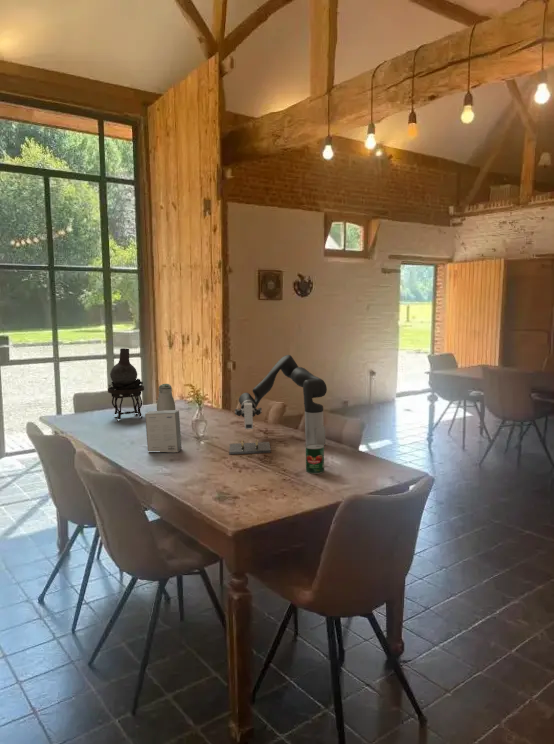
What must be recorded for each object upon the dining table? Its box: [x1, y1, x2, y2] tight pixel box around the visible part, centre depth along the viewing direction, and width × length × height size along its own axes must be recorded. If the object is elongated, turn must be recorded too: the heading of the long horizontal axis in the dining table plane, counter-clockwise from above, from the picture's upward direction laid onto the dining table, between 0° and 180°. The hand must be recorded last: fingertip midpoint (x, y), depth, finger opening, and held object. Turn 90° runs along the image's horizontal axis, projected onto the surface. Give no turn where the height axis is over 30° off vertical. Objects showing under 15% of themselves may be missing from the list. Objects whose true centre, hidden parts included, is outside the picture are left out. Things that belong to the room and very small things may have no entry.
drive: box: [243, 403, 254, 430], centre depth 282 cm, size 6×4×12 cm, turn 3°
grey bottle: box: [156, 383, 176, 411], centre depth 323 cm, size 10×10×28 cm
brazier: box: [107, 348, 145, 419], centre depth 368 cm, size 22×22×45 cm
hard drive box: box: [144, 409, 182, 453], centre depth 284 cm, size 16×8×20 cm, turn 84°
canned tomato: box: [305, 444, 325, 475], centre depth 244 cm, size 8×8×11 cm
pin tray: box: [228, 438, 272, 455], centre depth 283 cm, size 16×20×4 cm
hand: (248, 414), depth 279 cm, fingers closed on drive, 4 cm apart
